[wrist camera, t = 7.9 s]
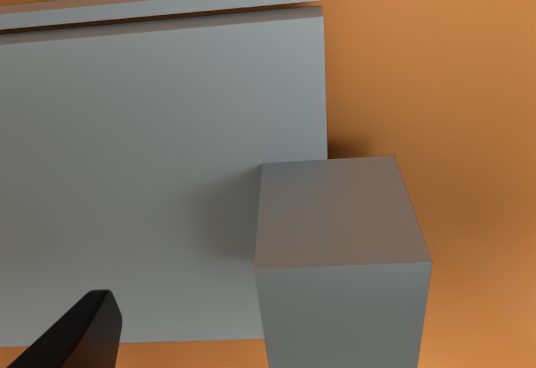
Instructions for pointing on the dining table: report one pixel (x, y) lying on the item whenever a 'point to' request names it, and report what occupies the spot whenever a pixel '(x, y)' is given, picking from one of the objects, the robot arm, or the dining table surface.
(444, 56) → the dining table surface
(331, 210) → the lid
